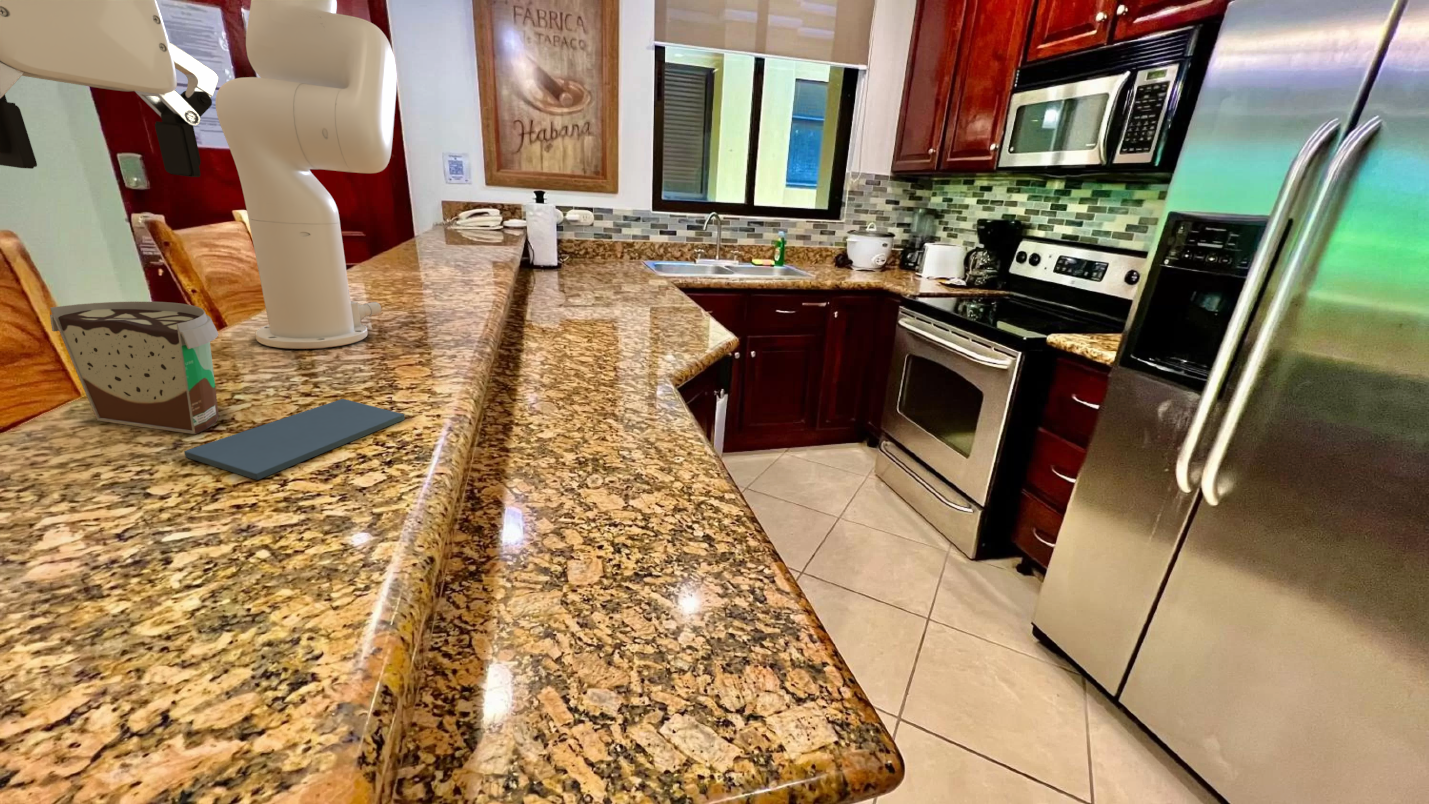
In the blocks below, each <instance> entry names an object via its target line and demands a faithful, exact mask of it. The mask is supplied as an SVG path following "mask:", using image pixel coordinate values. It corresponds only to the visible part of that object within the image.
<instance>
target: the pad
mask: <svg viewBox="0 0 1429 804" xmlns="http://www.w3.org/2000/svg"><path fill="white" fill-rule="evenodd" d="M405 417H406V416H405V414H404V413H401V412H397V411H393V410H389V409H385V408H381V407H377V406H373V405H369V404H365V403H361V402H358V401H354V400H349V399H346V398H340V399H338V400H333V401H332V402H328V403H326V404H325V403H324V404H322V405H319V406H317V407H313V408H311V409H307V410H304V411H301V412H297V413H295V414H292V415H289V416H286V417H283V418H280V419H277V420H274V421H271V422H268V423H265V424H262V425H258V426H256V427H253V428H250V429H247V430H243V431H240V432H238V433H235V434H232V435H228V436H225V437H223V438H219V439H216V440H214V441H210V442H207V443H205V444H201V445H198V446H196V447H192V448H190V449H186V450H184V451H183V452H184V456H185V458H187V459H189V460H192V461H196V462H198V463H202V464H206V465H209V466H212V467H215V468H218V469H221V470H224V471H228V472H231V473H234V474H237V475H240V476H243V477H247V478H249V479H252V480H255V481H259V480H261V479H263V478H266V477H269V476H271V475H273V474H276V473H279V472H280V471H281V472H282V471H284V470H285V469H288V468H290V467H293V466H295V465H298V464H301V463H302V462H305V461H307V460H309V459H312V458H315V457H317V456H320V455H322V454H324V453H326V452H330V451H332V450H335V449H336V448H339V447H341V446H344V445H346V444H349V443H351V442H354V441H355V440H356V441H357V440H358V439H361V438H363V437H366V436H368V435H370V434H373V433H375V432H377V431H381V430H382V429H386V428H387V427H390V426H392V425H394V424H397V423H399V422H402V421H404V420H406V419H405Z"/></svg>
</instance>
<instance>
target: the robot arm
mask: <svg viewBox="0 0 1429 804" xmlns="http://www.w3.org/2000/svg"><path fill="white" fill-rule="evenodd" d="M337 8H338V3H337V0H250V6H249V13H248V20H247V26H246V34H245V49H246V55H247V59H248V62H249V63H250V66H251V68H252V70H253V71H254V72H255V73H256V74H257V75H258V76H257V77H256V76H249V77H246V76H245V77H237V78H234V79H231V80H228V81H226V82H225V83H223V84H222V85H221V86H220V87H219V88H218V90H217V92H216V94H215V91H216V88H217V86H218V82H219V75H218V74H217V73H216V71H214V70H213V69H211V68H210V67H208V66H207V65H205V64H204V63H202V62H201V61H200V60H198V59H196V58H195V57H194V56H192V55H190V54H189V53H187V52H185V50H183V49H181V48H180V47H178V46H177V45H175V44H174V43H172V42H171V41H170V40H169V36H168V32H167V29H166V26H165V23H164V20H163V16H162V14H161V13H162V12H161V11H160V6H159V4H158V1H157V0H0V166H3V167H10V168H16V169H34V168H36V167H38V162H37V159H36V156H35V152H34V150H33V146H32V143H31V140H30V137H29V136H30V135H29V134H28V131H27V127H26V124H25V120H24V117H23V114H22V111H21V109H20V107H19V106H18V105H16V103H15V102H10V101H8V100H7V97H6V93H8V91H10V89H11V88H12V87H13V86H14V85H15V84H16V83H17V81H19V80H20V78H21V77H27V78H32V79H40V80H47V81H53V82H59V83H65V84H66V83H67V84H71V85H78V86H83V87H84V86H85V87H91V88H98V89H104V90H111V91H120V92H135V93H136V94H137V95H138V96H139V97H140V98H141V99H142V100H143V101H144V102H145V103H146V105H148V106H149V107H150V108H151V109H152V110H153V111H154V112H155V113H156V114H157V115H158V116H159V117H160V118H161V121H157V120H155V123H154V128H155V133H156V137H157V141H158V146H159V150H160V153H161V159H162V163H163V166H164V170H165V171H166V173H168V174H170V175H174V176H183V177H189V178H200V177H201V168H200V166H201V163H202V160H201V155H200V151H199V145H198V142H197V137H196V132H195V127H194V126H198V125H199V124H200V123H201V118H202V116H203V115H204V114H205V113H206V112H207V111H208V110H209V109H210V108H211V107H212V105H213V99H212V97H214V94H215V111H216V115H217V120H218V123H219V125H220V128H221V131H222V133H223V136H224V138H225V140H226V143H227V145H228V148H229V150H230V154H231V156H232V159H233V161H234V165H235V167H236V170H237V175H238V177H239V181H240V185H241V189H242V194H243V199H244V204H245V208H246V213H247V218H248V223H249V229H250V234H251V239H252V244H253V249H254V255H255V260H256V265H257V270H258V271H257V272H258V276H259V281H260V286H261V292H262V295H263V302H264V306H265V307H264V308H265V312H266V317H267V323H268V324H267V325H264V326H262V327H259V328H257V330H255V339H256V341H257V342H258V343H259V344H261V345H263V346H267V347H273V348H278V349H291V350H293V349H294V350H305V349H306V350H309V349H310V350H311V349H324V348H325V349H326V348H333V347H340V346H346V345H351V344H354V343H357V342H360V341H362V340H364V339H366V337H367V336H368V333H369V332H368V327H367V326H366V325H365V324H363V323H362V322H361V321H362V320H364V318H365V317H373V316H378V315H380V314H381V313H382V312H383V310H382V309H383V308H382V306H381V304H380V303H379V302H376V301H371V302H366V303H363V304H359V303H358V301H351V300H352V299H351V293H350V286H349V285H350V284H349V279H348V271H347V264H346V256H345V250H344V243H343V242H344V241H343V236H342V229H341V220H340V214H339V208H338V206H337V204H336V201H335V200H334V198H333V196H332V195H331V193H330V192H329V191H328V190H327V189H326V187H325V186H324V184H322V183H321V182H320V181H319V179H318V178H317V177H316V176H315V175H314V173H312V171H311V170H322V171H323V170H325V171H333V172H334V171H336V172H345V173H357V174H377V173H380V172H383V171H384V170H385V169H386V168H387V167H388V164H389V163H390V159H391V156H392V150H393V141H394V140H393V138H394V127H395V114H396V101H397V81H398V79H397V78H398V77H397V66H396V59H395V55H394V52H393V49H392V46H391V43H390V41H389V39H388V38H387V35H386V34H385V33H384V32H383V31H382V29H381V28H380V27H378V26H377V25H376V24H374V23H372V22H370V21H369V20H367V19H363V18H361V17H357V16H352V15H347V14H341V13H337V10H338V9H337ZM177 71H179V72H181V73H182V74H183V75H185V77H186V79H187V84H186V90H183V92H181V94H180V93H179V92H178V91H177V86H178V77H177Z"/></svg>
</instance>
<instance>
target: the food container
mask: <svg viewBox="0 0 1429 804" xmlns="http://www.w3.org/2000/svg"><path fill="white" fill-rule="evenodd" d="M50 312H51V314H49V319H50V324H51V325H50V326H51V331H52V332H59V334H60V337H61V338H62V341H63V344H64V346H65V348H66V350H67V353H68V355H69V357H70V360H71V362H72V365H73V367H74V369H75V372H76V374H77V376H78V379H79V381H80V383H81V385H82V388H83V391H84V394H85V396H86V398H87V400H88V402H89V405H90V408H91V409H92V412H93V414H94V416H95V419H96V421H97V422H104V423H111V424H112V423H113V424H120V425H127V426H134V427H141V428H149V429H156V430H162V431H163V430H164V431H168V432H169V431H170V432H176V433H185V434H190V435H197V434H199V433H201V432H204V431H206V430H208V429H209V428H210V427H212V426H213V425H215V424H216V423H217V421H218V419H219V417H220V413H219V406H218V398H217V389H216V382H215V381H216V380H215V372H214V364H213V357H212V355H213V354H212V347H211V342H213V341H215V340H216V339H217V338H219V332H218V330H217V327H216V325H215V324H214V322H213V320H212V317H211V316H209V315H208V314H206V311H205V309H203V307H200V306H197V305H192V304H188V303H187V304H186V303H180V302H179V303H178V302H167V301H107V302H106V301H105V302H88V303H78V304H69V305H60V306H53V307H50Z"/></svg>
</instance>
